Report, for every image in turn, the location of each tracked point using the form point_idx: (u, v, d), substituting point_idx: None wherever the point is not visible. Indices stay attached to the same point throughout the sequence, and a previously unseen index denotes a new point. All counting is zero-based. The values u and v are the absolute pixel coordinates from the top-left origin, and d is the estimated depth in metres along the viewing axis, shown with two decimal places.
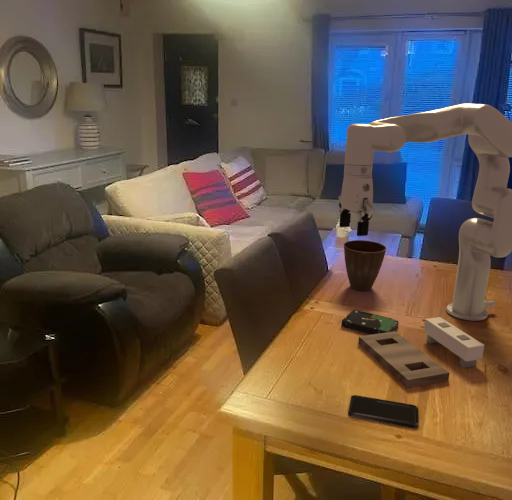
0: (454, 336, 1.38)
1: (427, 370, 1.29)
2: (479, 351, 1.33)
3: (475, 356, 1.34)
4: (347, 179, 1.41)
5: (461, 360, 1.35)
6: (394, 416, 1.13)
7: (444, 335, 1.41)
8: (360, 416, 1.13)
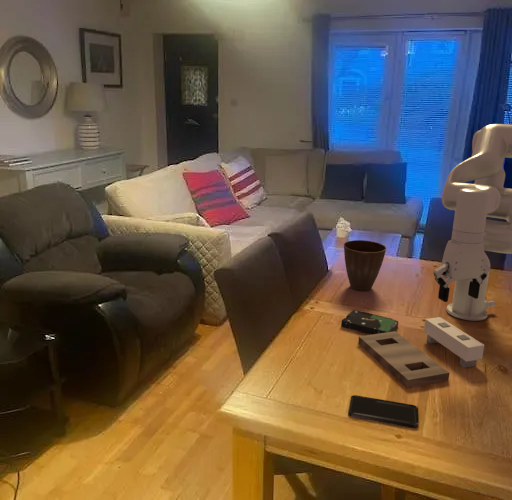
0: (454, 336, 1.38)
1: (427, 370, 1.29)
2: (479, 351, 1.33)
3: (475, 356, 1.34)
4: (470, 248, 1.31)
5: (461, 360, 1.35)
6: (394, 416, 1.13)
7: (444, 335, 1.41)
8: (360, 416, 1.13)
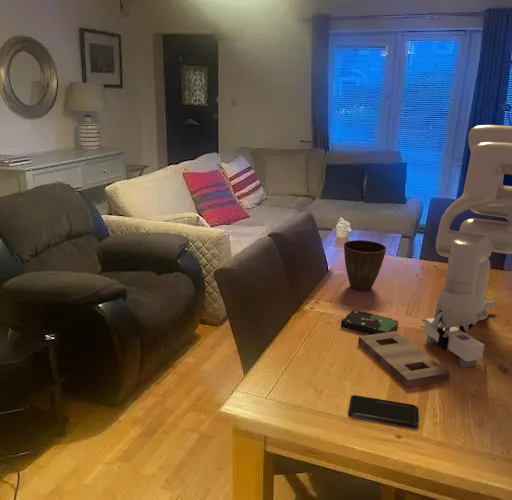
0: (454, 336, 1.38)
1: (427, 370, 1.29)
2: (479, 351, 1.33)
3: (475, 356, 1.33)
4: (462, 297, 1.35)
5: (461, 360, 1.35)
6: (394, 416, 1.13)
7: None
8: (360, 416, 1.13)
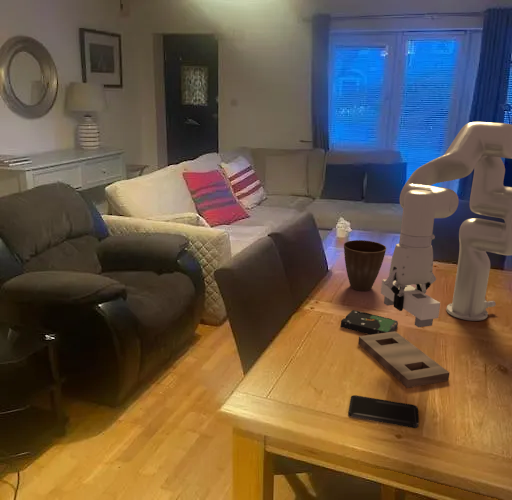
0: (409, 295, 1.29)
1: (427, 370, 1.29)
2: (435, 309, 1.25)
3: (430, 315, 1.25)
4: (417, 253, 1.26)
5: (416, 320, 1.27)
6: (394, 416, 1.13)
7: None
8: (360, 416, 1.13)
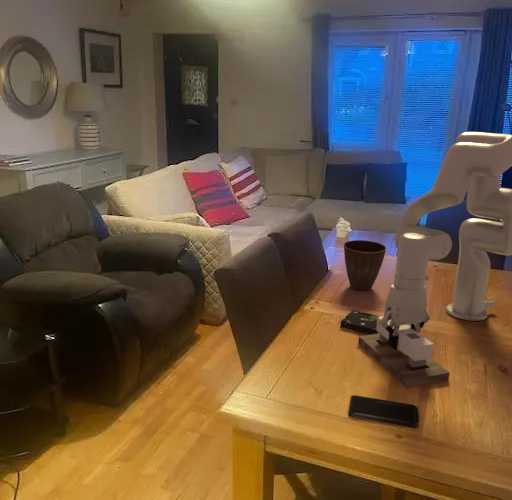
0: (404, 334, 1.32)
1: (427, 370, 1.29)
2: (428, 350, 1.28)
3: (424, 355, 1.28)
4: (411, 294, 1.29)
5: (410, 360, 1.30)
6: (394, 416, 1.13)
7: None
8: (360, 416, 1.13)
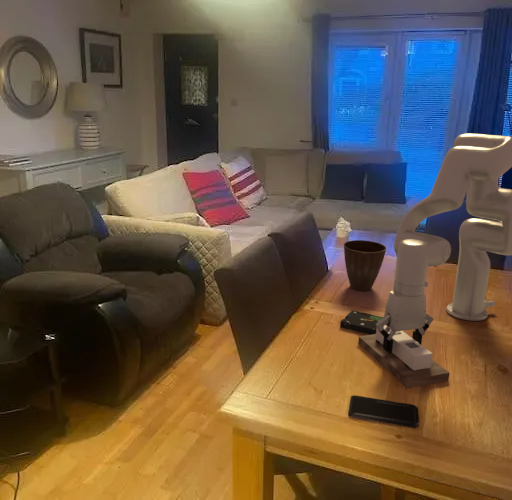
0: (403, 344, 1.33)
1: (427, 370, 1.29)
2: (427, 360, 1.29)
3: (423, 365, 1.29)
4: (411, 300, 1.30)
5: None
6: (394, 416, 1.13)
7: (394, 342, 1.36)
8: (360, 416, 1.13)
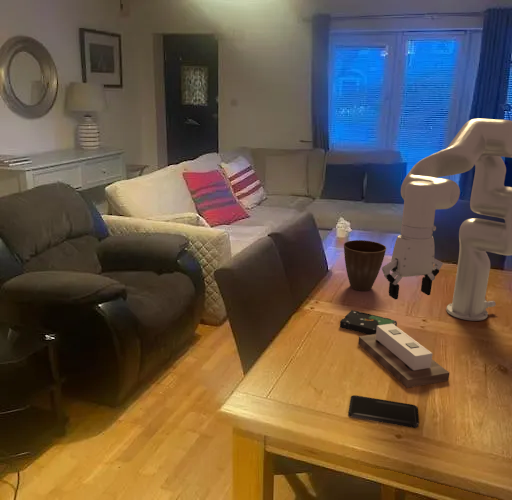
0: (403, 344, 1.33)
1: (427, 370, 1.29)
2: (427, 360, 1.29)
3: (423, 365, 1.29)
4: (419, 244, 1.26)
5: None
6: (394, 416, 1.13)
7: (394, 342, 1.36)
8: (360, 416, 1.13)
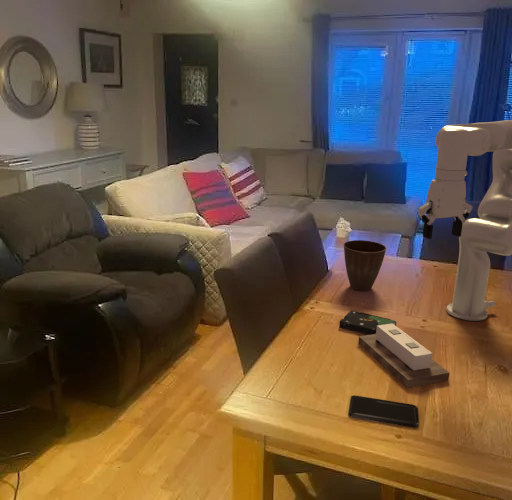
0: (403, 344, 1.33)
1: (427, 370, 1.29)
2: (427, 360, 1.29)
3: (423, 365, 1.29)
4: (452, 186, 1.37)
5: None
6: (394, 416, 1.13)
7: (394, 342, 1.36)
8: (360, 416, 1.13)
